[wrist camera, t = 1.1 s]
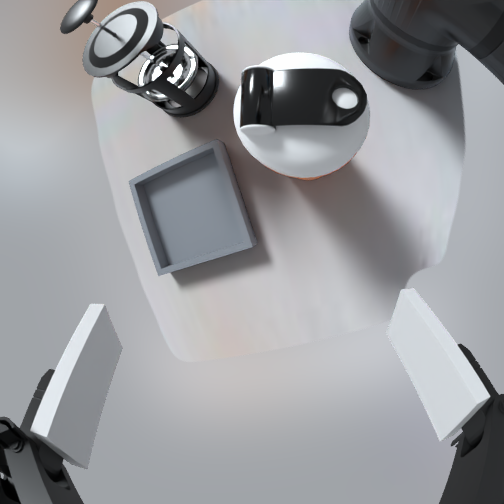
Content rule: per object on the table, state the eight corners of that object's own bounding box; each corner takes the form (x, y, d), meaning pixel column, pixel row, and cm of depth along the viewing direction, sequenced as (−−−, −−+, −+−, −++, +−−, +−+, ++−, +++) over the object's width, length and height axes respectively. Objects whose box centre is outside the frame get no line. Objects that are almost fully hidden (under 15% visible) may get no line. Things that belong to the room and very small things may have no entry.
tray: (224, 143, 34) (216, 139, 31) (257, 243, 36) (252, 247, 33) (140, 181, 38) (128, 181, 35) (168, 270, 39) (158, 276, 36)
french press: (232, 98, 33) (135, 0, 11) (173, 133, 35) (41, 88, 13) (199, 42, 32) (110, -48, 10) (147, 76, 35) (37, 17, 12)
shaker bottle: (347, 184, 32) (393, 165, 13) (275, 191, 34) (229, 182, 15) (336, 115, 31) (358, 27, 11) (266, 123, 33) (213, 46, 14)
